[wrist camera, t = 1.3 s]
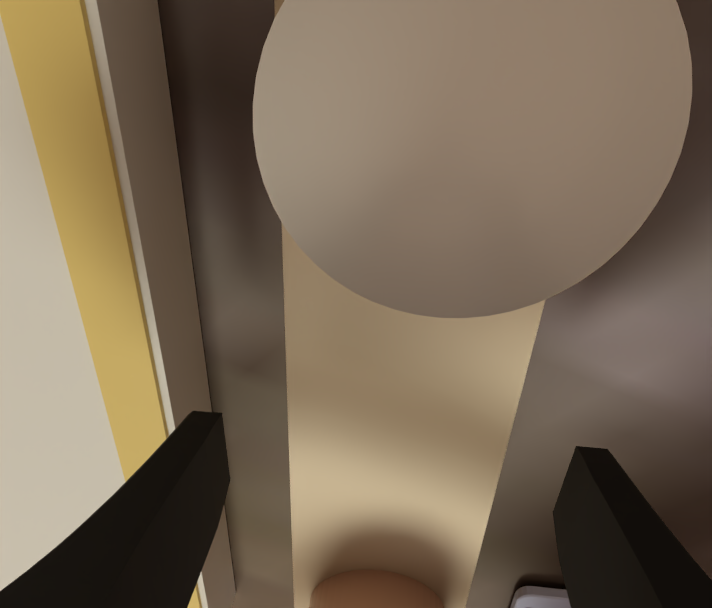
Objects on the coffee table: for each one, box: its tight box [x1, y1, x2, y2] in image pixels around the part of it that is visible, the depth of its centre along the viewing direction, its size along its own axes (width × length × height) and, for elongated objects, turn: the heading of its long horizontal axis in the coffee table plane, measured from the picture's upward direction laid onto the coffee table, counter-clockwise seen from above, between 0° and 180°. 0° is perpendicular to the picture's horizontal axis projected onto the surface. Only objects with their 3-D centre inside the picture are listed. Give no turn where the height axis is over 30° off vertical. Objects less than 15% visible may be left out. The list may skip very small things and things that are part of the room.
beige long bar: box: [274, 0, 546, 608], centre depth 14 cm, size 24×5×4 cm, turn 178°
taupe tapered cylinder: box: [253, 0, 692, 318], centre depth 7 cm, size 4×4×4 cm
